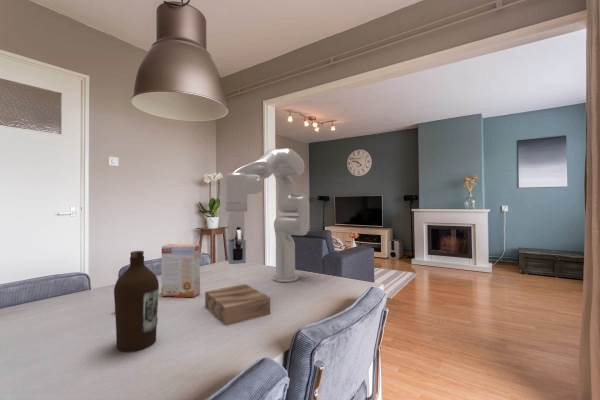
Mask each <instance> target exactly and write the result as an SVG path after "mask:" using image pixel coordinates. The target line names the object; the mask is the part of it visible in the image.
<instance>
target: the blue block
mask: <svg viewBox="0 0 600 400" xmlns="http://www.w3.org/2000/svg"><path fill="white" fill-rule="evenodd" d="M246 243H247V242H246V239H245V238H244V239H243V240H242V248H243V259H242V260H233V249H234V239H232V240H230V239H228V238H227V263H228V264H229V265H237V264H240V265H241V264H246V258H247V257H246V251H247V249H246V247H247V246H246Z"/></svg>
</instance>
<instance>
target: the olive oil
mask: <svg viewBox="0 0 600 400" xmlns="http://www.w3.org/2000/svg"><path fill="white" fill-rule="evenodd" d="M144 252H145V251H144V250H134V251H130V257H129V267H128V268H127V269H126V270H125V271H124V272H122V274H121V275H120V276H119V277H118V279H117V280H116V282H115V285H114V287H113V295H114V296H113V297H114V300H113V301H114V315H115V316H114V317H115V334H116V340H115V341H116V349H117V350H118V352H119V351H120V352H122V353H123V352H125V353H126V352H127V353H128V352H129V353H130V352H131V353H132V352H136V351H141V350H144V349H147V348H149V347H150V346H152V345H153V344H155V343H156V340H157V325H158V306H159V305H158V304H159V290H160V288H159V287H160V285H159V280H158V277H157V275H156V274H155V273H154V272H153V271H152V270H151V269H149V268H148V267H147V266H146V265H145V256H144Z"/></svg>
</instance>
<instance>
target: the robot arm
mask: <svg viewBox="0 0 600 400" xmlns="http://www.w3.org/2000/svg"><path fill="white" fill-rule="evenodd" d="M304 172H305V161H304V160H303V158H302V157H301V156H300V155H299V154H298V153H297V152H296V151H295V150H293V149H291V148H290V147H289V148H288V147H285V148H273V149H269V150H267V151H266V152H265V153H264V154H262V156H261V157H259V158H258V159H257V160H255V161H253V162H251V163H248V164H245V165H244V166H241V167H239V168H237V169H236V170H234V171H233V172H229V173H227V174H226V176H225V212H226V213H227V233H226V234H227V235H226V237H227V240H228V239H230V240H232V239H234V249H233V260H242V259H243V248H242V240H243V239H244V240H245V234H246V233H245V230H246V229H245V226H246V225H245V219H246V218H245V213H246V212H247V213H248V195H257V194H259V193H261V192H262V190H263V189H264V181H263V180H264V179H268V178H269V177H271V176H272V175H273V176H274V178H275V180H276V181H277V187H278V189H277V209H278V211H279V212H280V213H283V214H297V215H279V216H277V217H276V218H275V219H274V221H273V228H274V235H275V275H273V276H272V280H273V281H275V282H277V283H291V282H295V281H298V279H299V276H298V275H296V244H295V243H296V242H295V241H294V238H293V237H292V236H305V235H307V234H308V232H309V227H310V200H309V197H308V196H307V195H306V194H304V193H296V184H295V181H294V180H293V178H292V177H291V176H301V175H302V174H303V173H304Z"/></svg>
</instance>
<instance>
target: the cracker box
mask: <svg viewBox="0 0 600 400" xmlns="http://www.w3.org/2000/svg"><path fill="white" fill-rule="evenodd" d="M200 293H201V245H200V243H199V244H198V243H197V244H196V243H195V244H194V243H193V244H192V243H191V244H189V243H187V244H186V243H185V244H184V243H168V244H164V245H161V297H162V296H174V298H175V297H176V298H196V296H198V295H199V294H200Z"/></svg>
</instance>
